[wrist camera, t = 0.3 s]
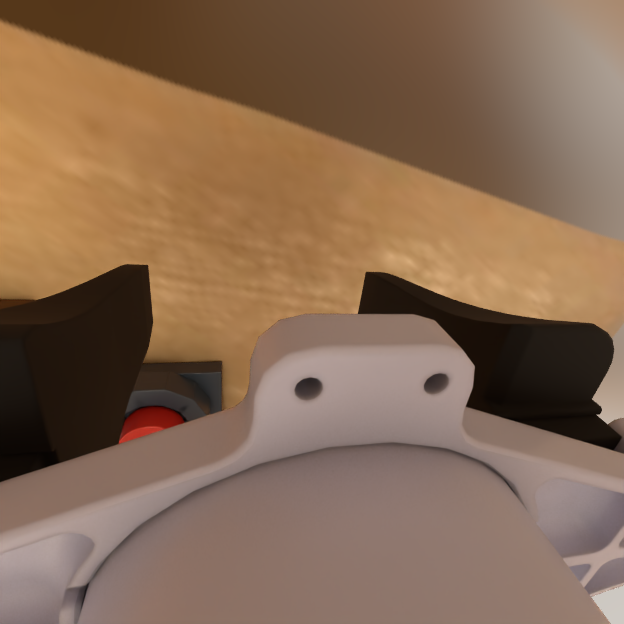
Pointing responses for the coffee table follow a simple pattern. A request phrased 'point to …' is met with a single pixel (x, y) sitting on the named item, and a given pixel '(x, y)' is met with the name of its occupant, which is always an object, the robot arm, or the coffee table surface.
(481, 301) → the coffee table surface
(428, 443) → the robot arm
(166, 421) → the button
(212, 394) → the button block
